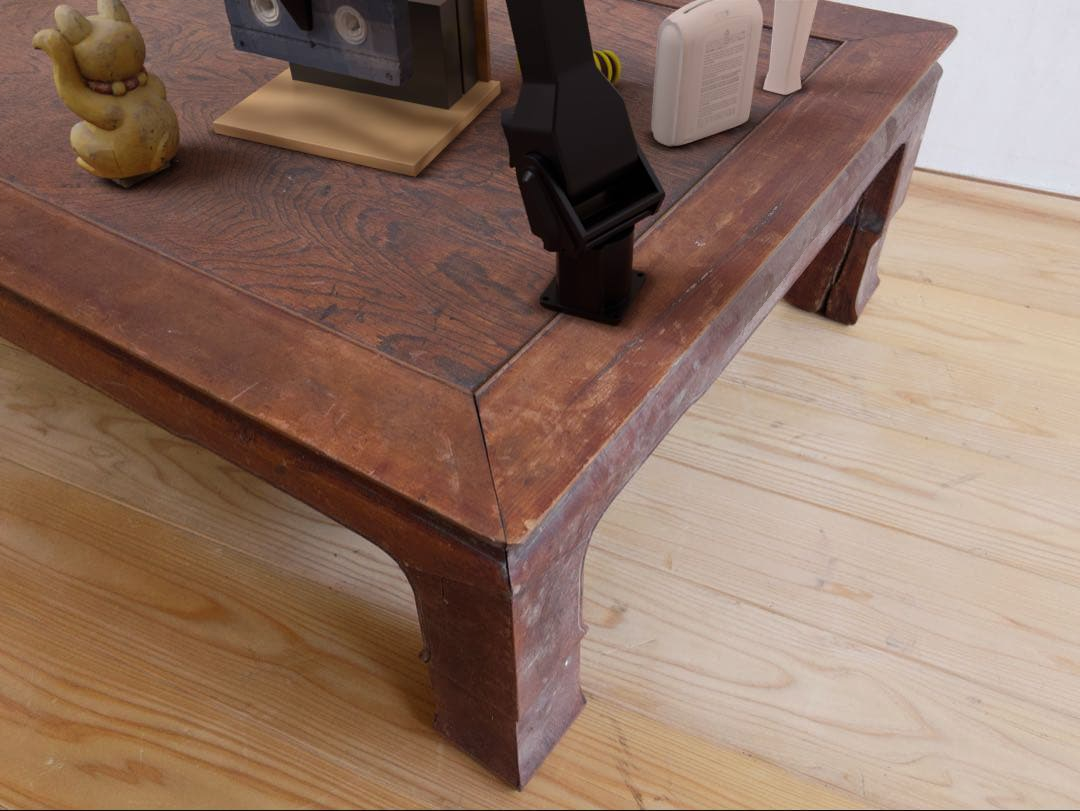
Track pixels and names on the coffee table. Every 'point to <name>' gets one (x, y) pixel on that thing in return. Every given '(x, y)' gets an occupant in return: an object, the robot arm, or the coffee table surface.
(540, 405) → the coffee table surface
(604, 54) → the yellow hollow cylinder
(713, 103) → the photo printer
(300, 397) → the coffee table surface
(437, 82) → the tape rack
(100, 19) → the decorative figurine
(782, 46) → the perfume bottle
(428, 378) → the coffee table surface
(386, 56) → the vhs cassette tape
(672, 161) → the coffee table surface
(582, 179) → the robot arm
